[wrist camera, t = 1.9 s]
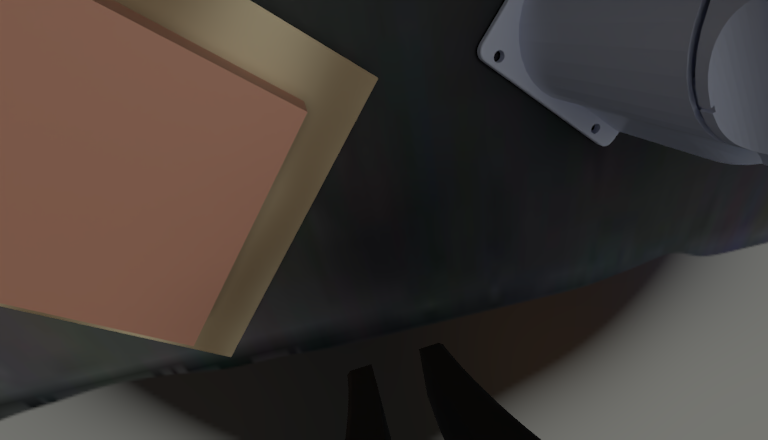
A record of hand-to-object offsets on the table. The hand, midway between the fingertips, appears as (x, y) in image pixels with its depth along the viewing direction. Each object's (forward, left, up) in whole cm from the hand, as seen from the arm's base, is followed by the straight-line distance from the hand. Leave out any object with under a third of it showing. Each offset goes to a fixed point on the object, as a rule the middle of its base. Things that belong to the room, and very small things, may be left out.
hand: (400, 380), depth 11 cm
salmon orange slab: (+9, 0, -7) cm, 11 cm away
